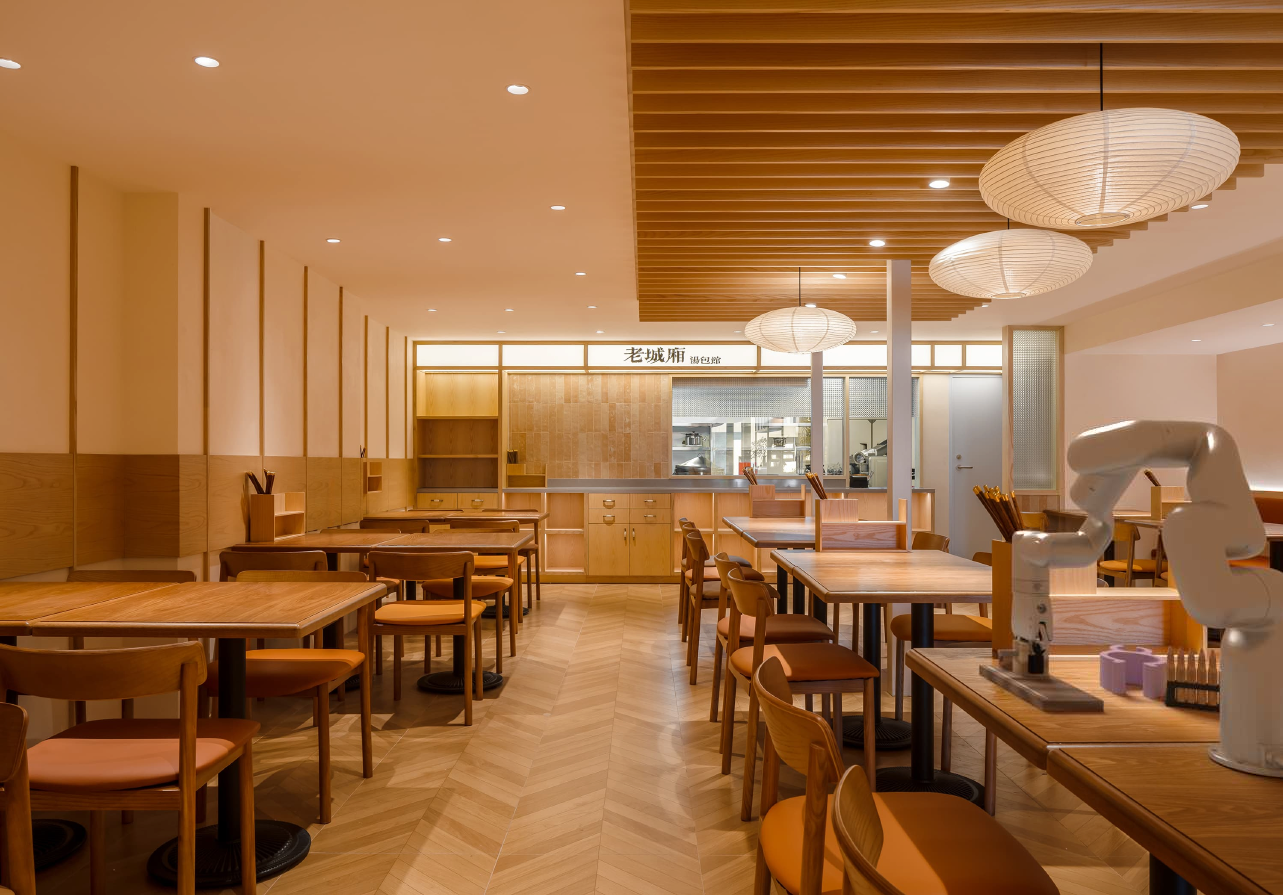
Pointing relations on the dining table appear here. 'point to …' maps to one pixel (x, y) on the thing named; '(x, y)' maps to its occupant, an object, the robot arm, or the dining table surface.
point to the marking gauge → (1023, 658)
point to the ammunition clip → (1192, 682)
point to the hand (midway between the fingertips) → (1030, 669)
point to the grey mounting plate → (1041, 689)
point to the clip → (1133, 671)
